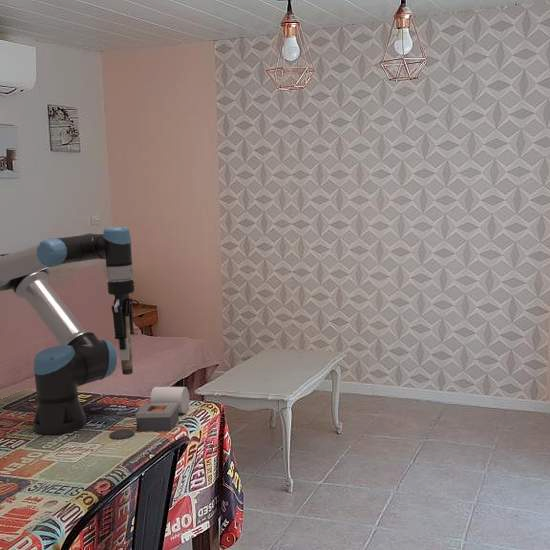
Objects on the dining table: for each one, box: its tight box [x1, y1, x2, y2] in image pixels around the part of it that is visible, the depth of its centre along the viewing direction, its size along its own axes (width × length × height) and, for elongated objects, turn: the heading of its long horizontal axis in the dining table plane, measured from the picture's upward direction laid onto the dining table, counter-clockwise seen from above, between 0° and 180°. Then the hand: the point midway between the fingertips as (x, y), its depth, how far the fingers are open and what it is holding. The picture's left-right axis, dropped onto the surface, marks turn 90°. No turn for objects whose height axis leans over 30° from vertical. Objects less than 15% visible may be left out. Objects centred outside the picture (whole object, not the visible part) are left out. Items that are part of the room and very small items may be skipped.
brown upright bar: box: [120, 316, 134, 376], centre depth 222 cm, size 3×3×17 cm
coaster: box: [109, 428, 135, 441], centre depth 213 cm, size 7×7×1 cm
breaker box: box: [135, 402, 180, 432], centre depth 219 cm, size 10×10×5 cm
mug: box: [149, 386, 190, 414], centre depth 233 cm, size 12×10×8 cm
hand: (126, 358), depth 222 cm, fingers closed on brown upright bar, 3 cm apart
